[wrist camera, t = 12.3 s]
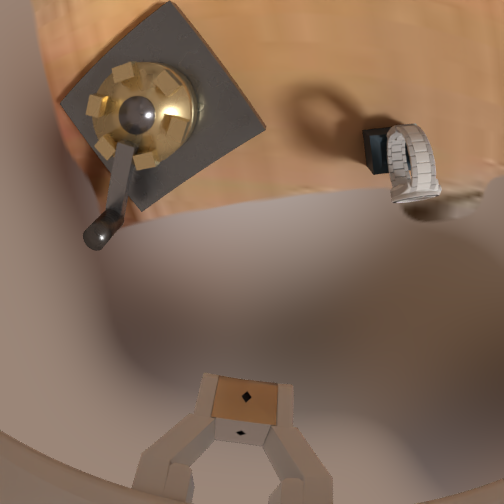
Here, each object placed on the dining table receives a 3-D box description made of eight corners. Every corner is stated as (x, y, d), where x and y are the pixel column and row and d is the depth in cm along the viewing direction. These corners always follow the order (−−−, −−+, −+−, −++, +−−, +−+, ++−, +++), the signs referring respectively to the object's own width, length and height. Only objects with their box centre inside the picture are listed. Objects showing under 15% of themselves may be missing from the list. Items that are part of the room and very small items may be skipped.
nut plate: (68, 101, 32) (58, 103, 30) (175, 3, 26) (168, 0, 24) (147, 205, 39) (140, 212, 38) (266, 126, 33) (265, 130, 31)
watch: (368, 181, 35) (396, 225, 26) (360, 114, 31) (391, 135, 22) (411, 176, 34) (450, 217, 25) (406, 110, 30) (451, 130, 21)
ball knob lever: (119, 53, 27) (74, 54, 20) (212, 77, 28) (188, 80, 21) (89, 199, 37) (52, 232, 30) (164, 227, 38) (138, 268, 31)
